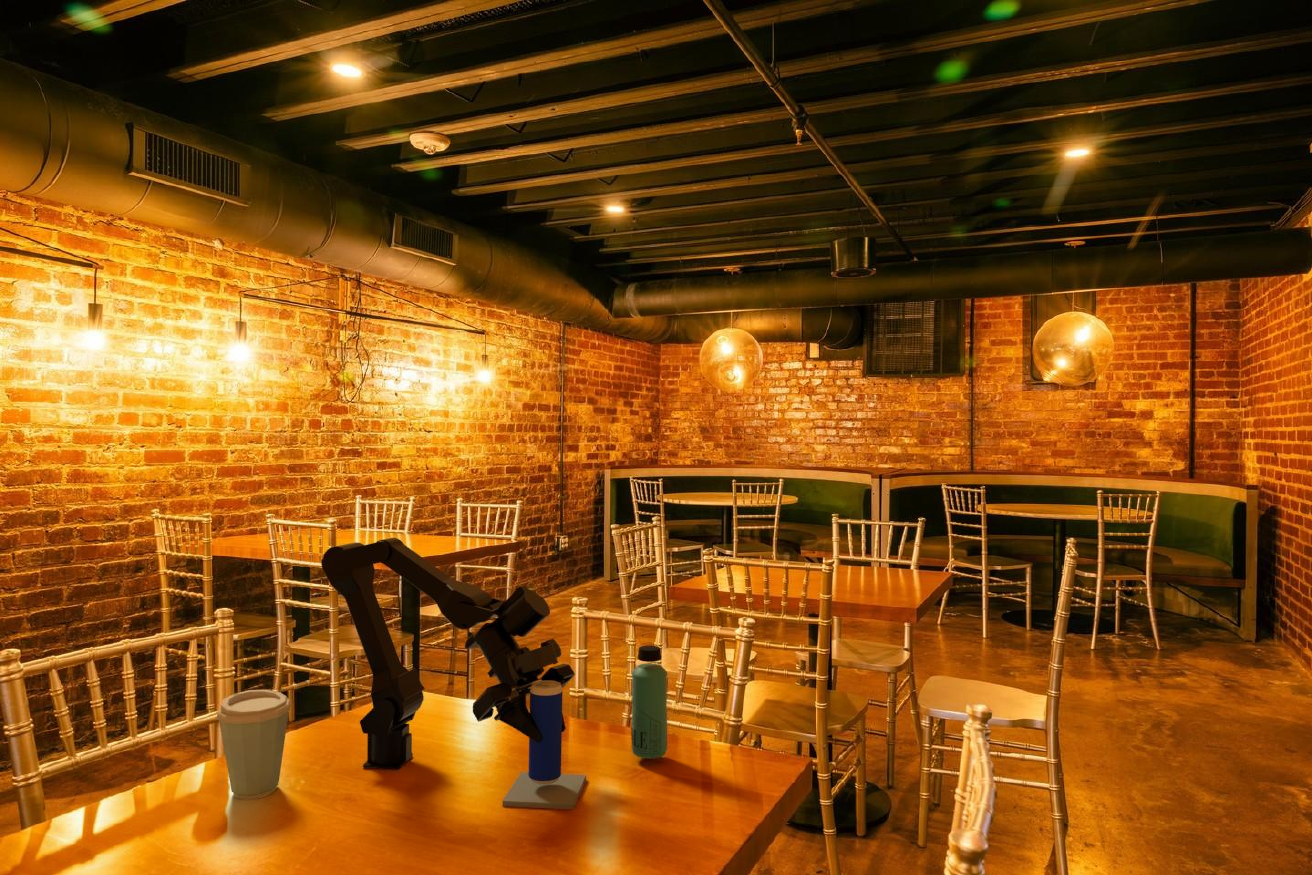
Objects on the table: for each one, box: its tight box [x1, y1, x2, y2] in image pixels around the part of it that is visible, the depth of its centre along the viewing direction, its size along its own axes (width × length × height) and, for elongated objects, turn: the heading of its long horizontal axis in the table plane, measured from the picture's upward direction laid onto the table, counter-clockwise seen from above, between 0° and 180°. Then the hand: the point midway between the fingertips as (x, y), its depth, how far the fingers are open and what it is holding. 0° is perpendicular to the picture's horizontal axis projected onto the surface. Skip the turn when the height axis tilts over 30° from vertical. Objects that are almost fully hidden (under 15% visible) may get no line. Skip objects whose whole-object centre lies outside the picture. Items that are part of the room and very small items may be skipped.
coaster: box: [502, 771, 587, 811], centre depth 130 cm, size 11×11×1 cm
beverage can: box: [528, 680, 563, 784], centre depth 130 cm, size 5×5×15 cm
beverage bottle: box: [630, 644, 669, 759], centre depth 143 cm, size 6×7×20 cm
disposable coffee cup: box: [216, 689, 292, 801], centre depth 129 cm, size 11×11×15 cm
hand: (551, 735), depth 129 cm, fingers closed on beverage can, 5 cm apart
